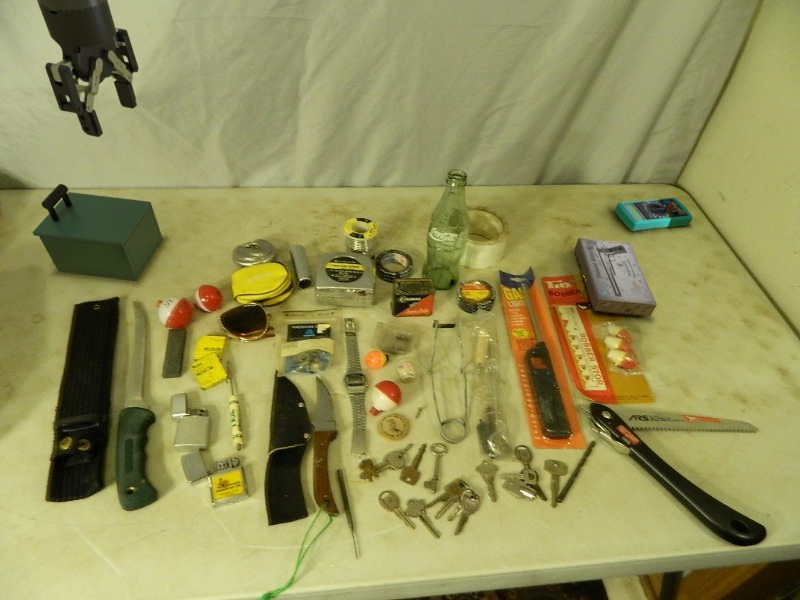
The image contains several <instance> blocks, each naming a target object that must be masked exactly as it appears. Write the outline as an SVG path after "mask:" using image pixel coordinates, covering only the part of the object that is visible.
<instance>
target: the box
mask: <svg viewBox="0 0 800 600" xmlns="http://www.w3.org/2000/svg"><path fill="white" fill-rule="evenodd" d="M574 252H575V256H576V259H577V263H578V265H579V266H580V273H581V278H582V279H584V278H583V276H582V275H584V276H585V279H586V284H587V288H586V292H587V295H588V298H589V300H590V304H591V306H592V309H593V310H592V311H595V312H596V311H597V312H602V313H604V314H607V313H610V314H615V315H618V314H619V315H627V316H630V315H631V316H638V317H647V318H649V317H651V316H652V314H653V312H654V311H655V309H656V308H657V301H656V298H655V296H654V294H653V292H652V290H651V288H650V286H649V283H648V281H647V278H646V276H645V274H644V271H643V269H642V266H641V264H640V262H639V259H638V258H637V255H636V253H635V251H634V248H633V245H632V244H631V243H630V242H621V241H612V240H599V239H593V238H592V239H591V238H583V237H578V239H577V241H576V244H575V246H574ZM583 282H584V283H585V281H583Z"/></svg>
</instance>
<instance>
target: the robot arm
mask: <svg viewBox="0 0 800 600" xmlns="http://www.w3.org/2000/svg"><path fill="white" fill-rule="evenodd" d="M36 1H37V5H38V7H39V10H40V12H41V15H42V18H43V20H44V23H45V26H46V27H47V31H48V34H49V36H50V38H51V39H52V40H53V41H54V42H55V43H56V44H57V45H58V46H59V47H60V49H61V54H62V60H60V61H58V62H55V63H54V62H46V63H45V66H44V68H45V72H46V74H47V77H48V80H49V83H50V86H51V89H52V92H53V94H54V98H55V100H56V103H57V105H58V109H59V110H60V111H62V112H67V113H72V114H76V116H77V119H78V121H79V124H80V127H81V130H82V132H84V133H85V134H86V135H87V136H90V137H95V138H100V137H101V136H102V135H103V134H104V131H103V129H102V126H101V123H100V120H99V117H98V115H97V112H96V109H94V105H95V96H98V94H99V88H100V84H102V83H103V82H104V80H105V79H106V78H110V77H111V78H112V79H113V80H114V81H113V84H114V88H115V91H116V94H117V97H118V100H119V103H120V106H122V107H123V108H127V109H135V108H136V107H137V106H138V103H137V97H136V94H135V90H134V87H133V83H132V82H133V80H134V75H133V74H134V73H138V72H139V64H138V61H137V57H136V55H135V51H134V49H133V48H134V47H133V45H132V42H131V39H130V36H129V32H128V30H127V29H124V28H119V27H116V25H115V21H114V18H113V15H112V11H111V8H110V4H109V1H108V0H36ZM124 57H126V60H127V61H125V58H124ZM79 80H80V81H82V82H83V83H87V85H83V84H80V83H79ZM82 93H84V97H83V101H82V100H81V94H82ZM67 97H68V99H69V100H68V99H67Z"/></svg>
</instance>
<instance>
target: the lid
mask: <svg viewBox="0 0 800 600" xmlns="http://www.w3.org/2000/svg"><path fill="white" fill-rule="evenodd" d="M40 204H41V207H42V208H43V209H45V210H47V212H48V214H47V215H46V216H45V218H44V219H43V220H42V221H41V222H40V223H39V224H38V225H37V227H35V228H34V230H33V231H32V235H33V236H34V237H39V236H41V237H50V238H58V239H67V240H75V241H83V242H92V243H100V244H109V245H117V246H123V245H124V243H125V242H126V240H127V239H128V238H129V236H130V235H131V233H132V232H133V230H134V229H135V228H136V226H137V225H138V223H139V222H140V220H141V219H142V218H143V216H144V215H145V213H146V212H147V211H148V209H149V208H150V206H151V205H152V202H151V201H149V200H138V199H130V198H124V197H123V198H122V197H114V196H107V195H104V196H103V195H97V194H90V193H88V194H87V193H80V192H73V191H69V188H68V186H67V185H65V184H63V183H59V184H57V185H56V187H55V188H54V189H52V191H51V192H50V193H49V194H48V195H47V196H46V197H45V198H44V199H43V200H42V201H41V203H40Z"/></svg>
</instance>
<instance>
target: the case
mask: <svg viewBox="0 0 800 600" xmlns="http://www.w3.org/2000/svg"><path fill="white" fill-rule="evenodd" d="M38 238H39V240H40V241H41V243H42V245H43V246H44V248H45V250H46V252H47V254H48V256H49V257H50V259H51V261H52V263H53V265H54V266H55V268H56V270H57V272H59V273H66V274H74V275H83V276H89V277H90V276H91V277H99V278H109V279H116V280H125V281H133V282H138V280H139V279H140V277H141V275H142V274H143V272H144V270H145V269H146V267H147V266H148V264H149V263H150V261H151V260H152V258H153V256H154V255H155V253H156V251H157V250H158V248H159V247H160V245H161V244H162V242H163V241H164V237H163V235H162V232H161V228H160V226H159V222H158V220H157V216H156V214H155V211H154V208H153V205H152V204H151V206H150V208H149V209H148V211H147V212H146V213H145V215H144V216H143V218H142V219H141V220H140V222H139V223H138V225H137V226H136V228H135V229H134V230H133V232H132V233H131V235H130V236H129V238H128V239H127V240H126V242H125V243H124V245H123V246H117V245H109V244H100V243H92V242H83V241H75V240H67V239H58V238H50V237H41V236H38Z"/></svg>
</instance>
